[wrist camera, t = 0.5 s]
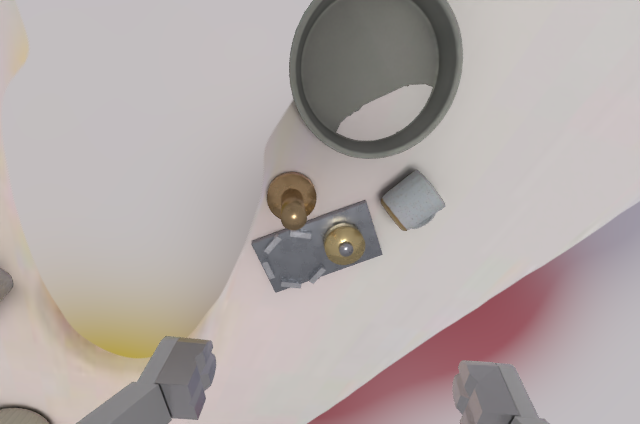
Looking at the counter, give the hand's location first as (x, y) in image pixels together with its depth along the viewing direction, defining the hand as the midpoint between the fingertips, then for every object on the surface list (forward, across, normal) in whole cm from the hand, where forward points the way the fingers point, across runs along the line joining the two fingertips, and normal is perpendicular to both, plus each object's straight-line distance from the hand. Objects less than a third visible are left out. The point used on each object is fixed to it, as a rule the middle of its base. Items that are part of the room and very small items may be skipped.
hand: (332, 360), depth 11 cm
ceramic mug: (+46, -12, +18) cm, 51 cm away
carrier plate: (+42, +3, +26) cm, 50 cm away
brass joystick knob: (+42, +8, +17) cm, 46 cm away
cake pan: (+48, -3, -2) cm, 48 cm away
